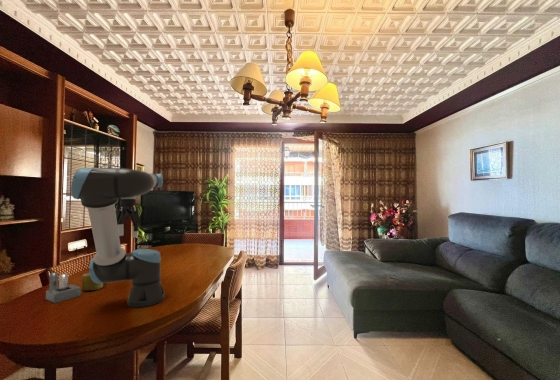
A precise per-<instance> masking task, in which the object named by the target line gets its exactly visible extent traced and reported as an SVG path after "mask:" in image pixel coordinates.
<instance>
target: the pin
mask: <svg viewBox="0 0 560 380" xmlns="http://www.w3.org/2000/svg"><path fill="white" fill-rule="evenodd" d="M68 285H69V274H68V273H61V274H59V275H58V288H59V291H63V290H67V289H68Z"/></svg>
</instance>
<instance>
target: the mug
mask: <svg viewBox="0 0 560 380" xmlns="http://www.w3.org/2000/svg"><path fill="white" fill-rule="evenodd" d="M81 282H82V287H81V288H82V289H81V290H82V291H83V292H88V291H89V292H90V291H98V290H100V289H102V288H103V287H104V283H95V282H93V281H92V279H91V277H90V274H89V272H88V273H83V275H82V279H81Z"/></svg>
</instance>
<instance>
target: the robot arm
mask: <svg viewBox="0 0 560 380" xmlns="http://www.w3.org/2000/svg"><path fill="white" fill-rule="evenodd" d="M163 178H164V177H163V174H162V173H149V172H146V171H141V170H136V169H133V168H123V167H121V168H119V167H94V166H91V167H79V168H78V169H76V171H74V174H73V177H72V180H71V185H70V193H71V194H70V195H71V197H72V198H73V199H75V200H80V202H81V205H82V206H83V207H84V208H86V209H87V212H88V216H89V217H88V218H89V221H90V222H89V223H90V226H91V227H90V228H91V231H92V236H93V241H94V246H95V247H94V248H95V252H96V253H95V254H94V256H93V257H91V258H92V259H91V260H90V261H89V265H88V270H89V272H88V273H89V274H90V277H91V279H92V281H93V282H95V283H103V284H108V283H116V282H117V283H118V282H124V281H131V287H130V288H131V289H130V290H129V293H128V297H127V306H128V307H130V308H145V307H149V306H154V305H156V304H158V303H160V302H162V301H163V300H164V299H165V290H164V287H163V285H162V282H161V263H162V260H161V259H162V258H161V252H160V251H158V250H156V249H149V248H148V249H147V248H140V249H134V250H132V253H127V252H126V250H125V248H123V247H121V240H120V237H123V236H124V235H125V234H124V233H125V232H124V231H125V230H124V229H125V228H124V225H125V224H124V221H125V219H126V218H127V216H128V217H129V219H130V222H131V223H132V225H131V238H132V239H133V238H139V237H138V236H139V235H138V233H139V225H141V219H140V216H139V212H138V207H136V202H137V201H136V197H138V196H142V195H145V194H147V193H149V192H151V191H152V189H153V188H162V187H163V183H164V179H163ZM118 202H119V205H120V206H119V207H118V212H116V204H117V203H118ZM134 206H135V207H134Z"/></svg>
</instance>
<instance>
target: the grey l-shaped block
mask: <svg viewBox="0 0 560 380" xmlns="http://www.w3.org/2000/svg"><path fill="white" fill-rule="evenodd" d="M58 274H59V273H58V271H53V272H51V273H49V289H48V290H45V300H47V301H48V302H50V303H53V304H56V303H60V302H63V301H68V300H70V299H74V298H78V297H81V295H82V291H81V290H82V289H81V288H82V287H80V286H78V285H75V284H72V283H70V284H68V289H67V290H63V291H59V275H58Z"/></svg>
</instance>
